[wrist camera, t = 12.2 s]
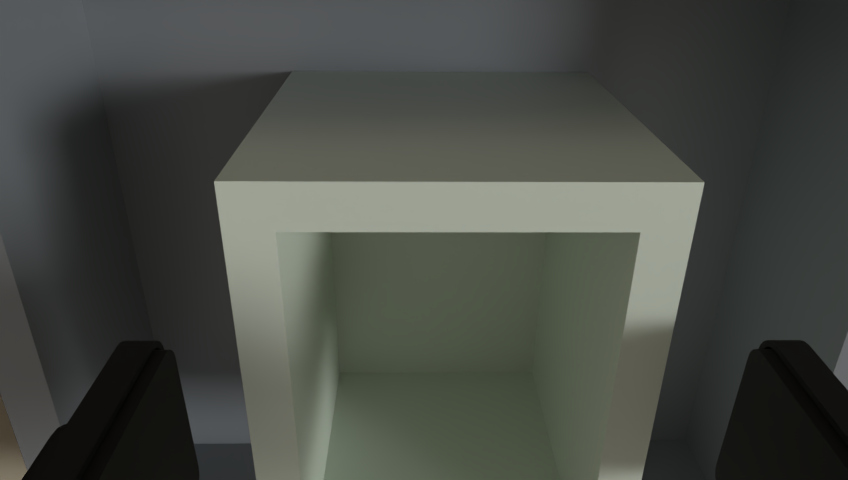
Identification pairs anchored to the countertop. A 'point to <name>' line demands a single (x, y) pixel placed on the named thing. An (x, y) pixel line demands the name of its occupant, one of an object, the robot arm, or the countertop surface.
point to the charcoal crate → (397, 52)
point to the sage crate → (453, 276)
